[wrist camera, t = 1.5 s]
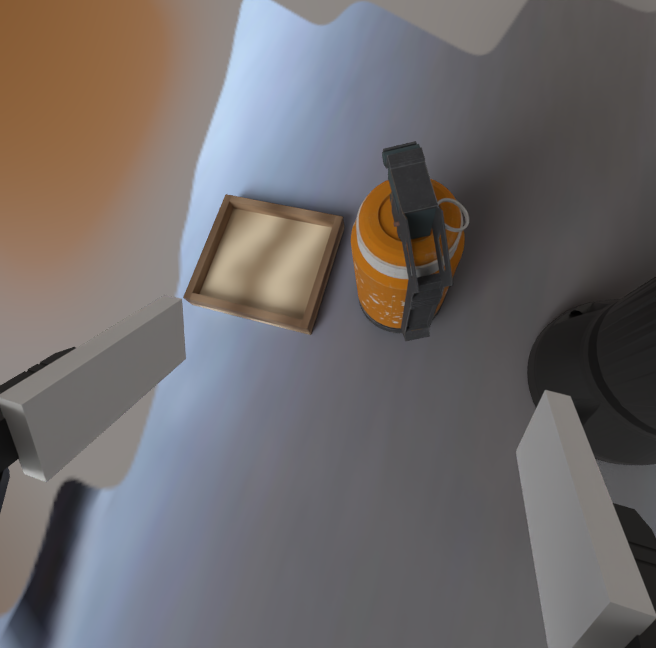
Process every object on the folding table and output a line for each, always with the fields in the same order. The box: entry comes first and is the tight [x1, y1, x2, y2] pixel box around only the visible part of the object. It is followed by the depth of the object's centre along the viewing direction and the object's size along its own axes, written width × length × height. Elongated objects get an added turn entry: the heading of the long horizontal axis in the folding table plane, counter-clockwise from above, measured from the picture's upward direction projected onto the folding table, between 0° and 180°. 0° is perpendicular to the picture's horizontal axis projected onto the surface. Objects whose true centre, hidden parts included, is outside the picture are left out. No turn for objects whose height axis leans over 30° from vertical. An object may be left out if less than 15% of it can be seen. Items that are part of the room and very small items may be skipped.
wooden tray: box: [183, 194, 344, 335], centre depth 47 cm, size 15×14×2 cm
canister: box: [351, 141, 469, 341], centre depth 35 cm, size 9×11×20 cm
